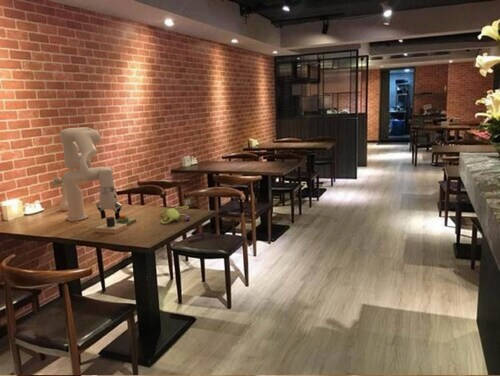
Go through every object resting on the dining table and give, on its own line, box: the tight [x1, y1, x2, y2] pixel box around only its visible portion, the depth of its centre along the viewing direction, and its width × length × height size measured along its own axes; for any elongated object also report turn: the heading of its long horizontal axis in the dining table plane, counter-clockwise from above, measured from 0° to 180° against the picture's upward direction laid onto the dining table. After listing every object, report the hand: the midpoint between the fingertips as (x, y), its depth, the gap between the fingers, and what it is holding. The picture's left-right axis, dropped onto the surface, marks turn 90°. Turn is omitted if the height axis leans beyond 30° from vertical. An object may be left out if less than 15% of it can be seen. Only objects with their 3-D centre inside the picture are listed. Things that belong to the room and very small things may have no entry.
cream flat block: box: [94, 222, 128, 234], centre depth 246 cm, size 14×11×3 cm
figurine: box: [160, 205, 191, 225], centre depth 267 cm, size 18×27×6 cm
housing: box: [114, 216, 137, 227], centre depth 259 cm, size 12×10×4 cm
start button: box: [119, 214, 127, 219], centre depth 259 cm, size 4×4×2 cm
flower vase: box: [49, 175, 69, 212], centre depth 299 cm, size 13×18×25 cm
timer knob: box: [105, 216, 115, 227], centre depth 245 cm, size 4×4×5 cm
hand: (110, 218), depth 245 cm, fingers open, 9 cm apart
